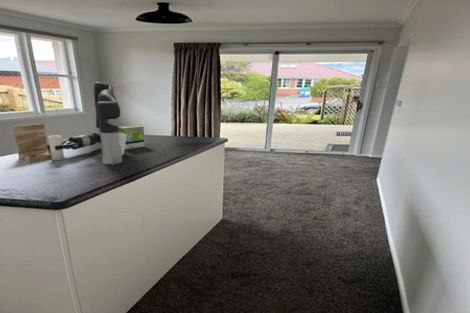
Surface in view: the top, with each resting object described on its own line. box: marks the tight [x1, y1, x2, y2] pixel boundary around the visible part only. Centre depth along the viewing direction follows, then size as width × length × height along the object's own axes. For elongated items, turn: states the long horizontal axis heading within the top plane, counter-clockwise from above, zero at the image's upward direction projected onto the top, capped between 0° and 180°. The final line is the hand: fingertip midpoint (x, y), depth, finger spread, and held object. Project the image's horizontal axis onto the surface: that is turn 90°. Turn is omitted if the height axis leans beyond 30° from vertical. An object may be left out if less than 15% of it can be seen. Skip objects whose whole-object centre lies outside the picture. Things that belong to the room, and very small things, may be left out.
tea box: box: [117, 124, 145, 151], centre depth 172 cm, size 15×10×15 cm, turn 143°
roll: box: [47, 134, 65, 161], centre depth 138 cm, size 6×6×13 cm
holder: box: [12, 123, 52, 163], centre depth 139 cm, size 14×14×18 cm
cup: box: [119, 133, 126, 156], centre depth 152 cm, size 12×12×12 cm
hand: (51, 147), depth 135 cm, fingers closed on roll, 5 cm apart
